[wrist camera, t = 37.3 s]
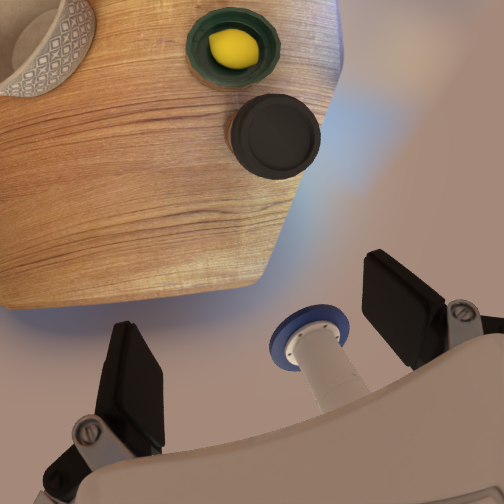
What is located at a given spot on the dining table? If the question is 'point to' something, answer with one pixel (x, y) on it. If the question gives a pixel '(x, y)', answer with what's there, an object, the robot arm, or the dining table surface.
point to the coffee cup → (273, 136)
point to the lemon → (234, 49)
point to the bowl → (218, 74)
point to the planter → (42, 43)
